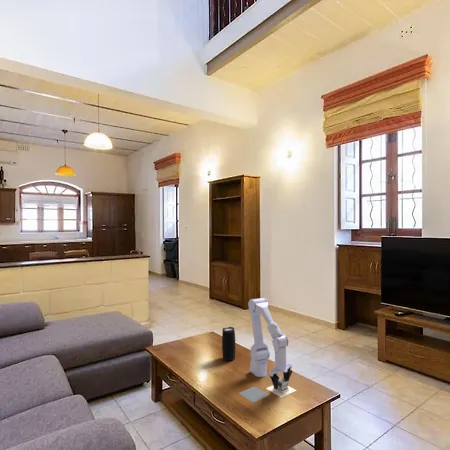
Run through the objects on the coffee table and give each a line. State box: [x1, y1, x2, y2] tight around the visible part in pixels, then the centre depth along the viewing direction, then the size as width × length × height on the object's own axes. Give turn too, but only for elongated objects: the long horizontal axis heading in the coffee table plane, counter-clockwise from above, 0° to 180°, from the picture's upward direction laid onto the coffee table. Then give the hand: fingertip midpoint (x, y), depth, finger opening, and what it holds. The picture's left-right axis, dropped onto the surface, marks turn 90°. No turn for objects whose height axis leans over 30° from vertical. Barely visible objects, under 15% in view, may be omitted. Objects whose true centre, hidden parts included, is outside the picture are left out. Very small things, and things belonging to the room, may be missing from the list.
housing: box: [274, 375, 290, 393], centre depth 162 cm, size 6×4×5 cm
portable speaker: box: [221, 326, 237, 362], centre depth 203 cm, size 9×9×20 cm
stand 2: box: [265, 384, 297, 398], centre depth 162 cm, size 11×11×2 cm
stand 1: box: [238, 386, 270, 403], centre depth 157 cm, size 11×11×2 cm
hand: (281, 386), depth 162 cm, fingers open, 7 cm apart
